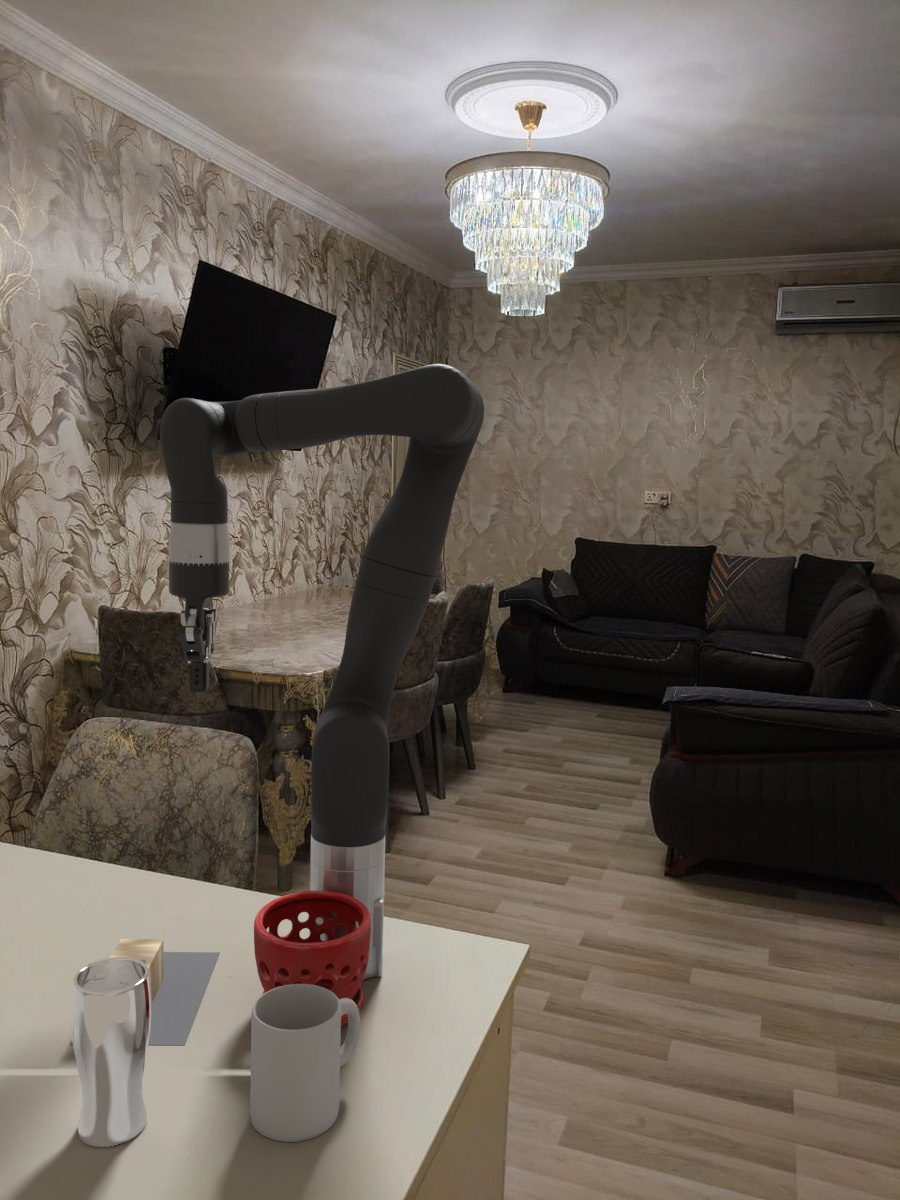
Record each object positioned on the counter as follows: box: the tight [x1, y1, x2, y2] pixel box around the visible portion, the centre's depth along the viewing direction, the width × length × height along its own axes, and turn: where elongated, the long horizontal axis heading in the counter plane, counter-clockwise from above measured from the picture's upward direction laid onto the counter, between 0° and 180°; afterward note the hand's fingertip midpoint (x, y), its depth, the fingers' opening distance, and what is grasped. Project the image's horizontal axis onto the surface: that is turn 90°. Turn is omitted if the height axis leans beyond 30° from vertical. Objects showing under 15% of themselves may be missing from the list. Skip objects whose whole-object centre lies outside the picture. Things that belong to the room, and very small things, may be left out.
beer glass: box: [70, 957, 151, 1148], centre depth 88 cm, size 7×7×15 cm
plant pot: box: [253, 890, 371, 1027], centre depth 108 cm, size 13×13×12 cm
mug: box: [249, 984, 361, 1143], centre depth 92 cm, size 12×8×11 cm
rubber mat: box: [69, 951, 221, 1046], centre depth 111 cm, size 12×20×1 cm, turn 3°
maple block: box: [109, 938, 164, 1004], centre depth 108 cm, size 5×5×12 cm
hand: (199, 690), depth 124 cm, fingers closed
